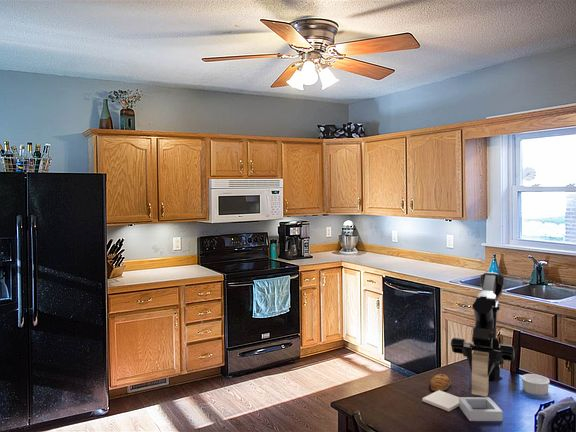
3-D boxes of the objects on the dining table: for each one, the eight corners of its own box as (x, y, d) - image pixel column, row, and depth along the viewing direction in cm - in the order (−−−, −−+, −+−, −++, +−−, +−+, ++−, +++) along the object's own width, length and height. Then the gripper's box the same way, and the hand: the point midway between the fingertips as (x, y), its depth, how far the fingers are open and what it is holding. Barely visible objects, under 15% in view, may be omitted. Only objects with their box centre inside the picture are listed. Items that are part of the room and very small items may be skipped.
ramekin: (543, 398, 158) (544, 385, 158) (516, 390, 165) (517, 378, 164) (553, 390, 164) (553, 378, 164) (527, 383, 170) (527, 371, 170)
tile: (438, 392, 163) (438, 390, 163) (465, 402, 155) (465, 399, 155) (422, 401, 156) (422, 398, 156) (449, 411, 149) (449, 408, 149)
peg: (473, 388, 150) (473, 350, 149) (488, 391, 148) (488, 352, 147) (471, 393, 146) (472, 354, 145) (487, 396, 144) (487, 357, 143)
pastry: (445, 394, 162) (445, 384, 161) (426, 390, 165) (426, 380, 165) (451, 385, 170) (451, 375, 169) (433, 381, 173) (433, 371, 173)
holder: (458, 406, 152) (458, 397, 152) (489, 406, 152) (489, 397, 152) (469, 421, 142) (469, 411, 142) (502, 421, 142) (502, 411, 142)
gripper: (451, 313, 154) (445, 356, 145) (514, 320, 145) (512, 366, 136) (455, 330, 161) (449, 372, 152) (515, 338, 152) (513, 383, 143)
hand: (479, 373), depth 145 cm, fingers closed on peg, 4 cm apart
